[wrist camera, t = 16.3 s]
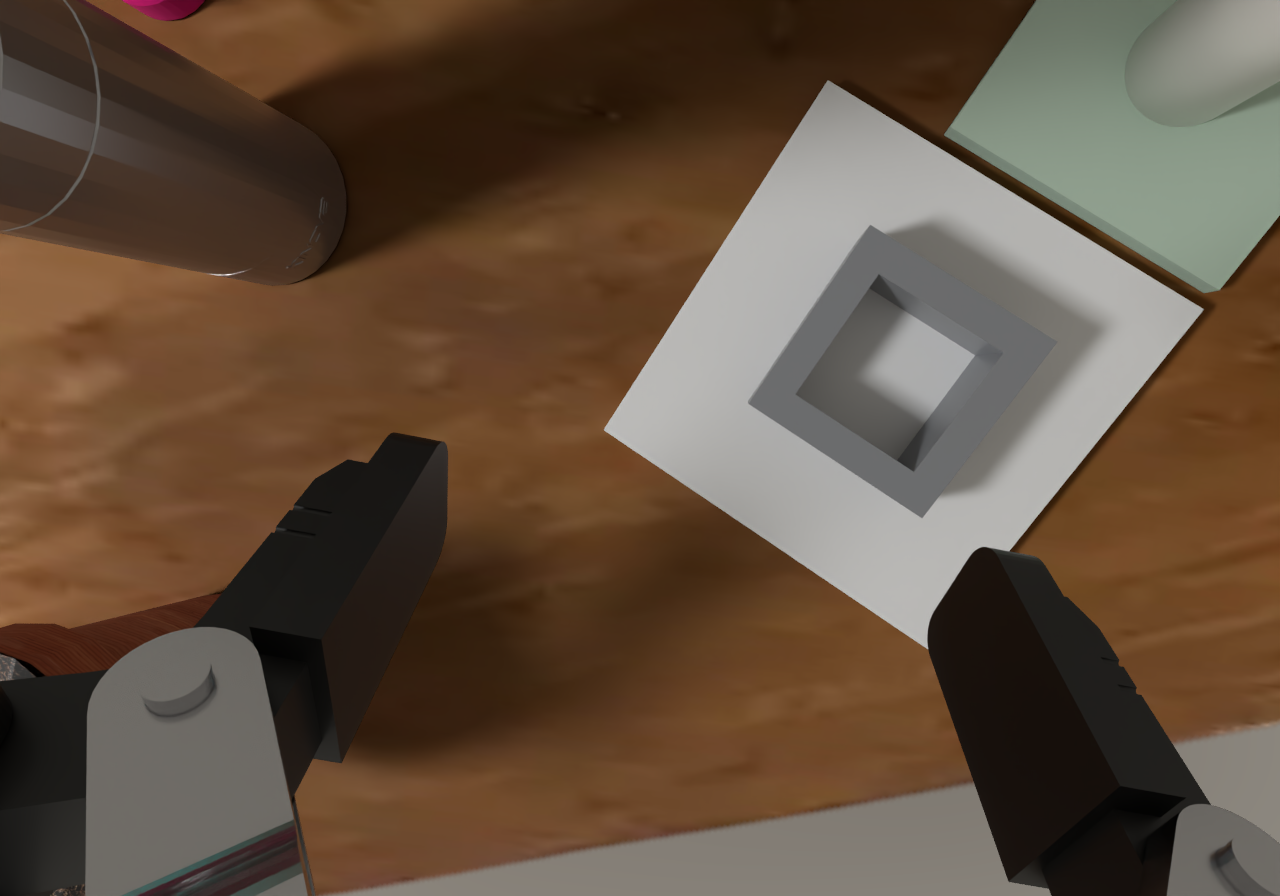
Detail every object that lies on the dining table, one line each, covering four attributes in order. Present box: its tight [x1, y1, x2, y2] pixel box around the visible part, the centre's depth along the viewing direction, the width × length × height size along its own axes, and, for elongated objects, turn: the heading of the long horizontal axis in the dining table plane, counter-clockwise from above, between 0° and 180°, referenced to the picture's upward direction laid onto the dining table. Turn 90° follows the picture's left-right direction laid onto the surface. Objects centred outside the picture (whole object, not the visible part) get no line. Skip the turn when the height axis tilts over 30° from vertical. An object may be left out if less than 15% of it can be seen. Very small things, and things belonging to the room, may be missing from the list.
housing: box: [604, 80, 1204, 649], centre depth 31 cm, size 20×20×4 cm
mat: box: [944, 0, 1280, 293], centre depth 29 cm, size 14×14×1 cm
